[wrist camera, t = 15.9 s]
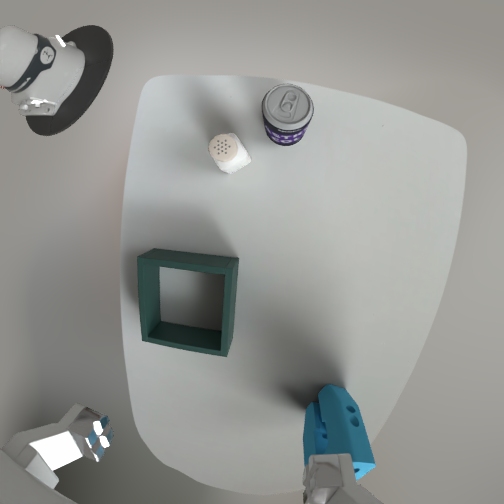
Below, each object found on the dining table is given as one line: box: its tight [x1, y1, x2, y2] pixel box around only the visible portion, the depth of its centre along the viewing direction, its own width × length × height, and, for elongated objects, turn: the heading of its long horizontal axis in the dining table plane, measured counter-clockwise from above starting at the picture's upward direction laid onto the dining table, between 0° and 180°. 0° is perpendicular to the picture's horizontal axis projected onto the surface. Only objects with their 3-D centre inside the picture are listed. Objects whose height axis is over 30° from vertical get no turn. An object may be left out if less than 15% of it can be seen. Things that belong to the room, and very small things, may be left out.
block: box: [303, 384, 376, 481], centre depth 37 cm, size 12×5×20 cm, turn 155°
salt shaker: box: [209, 133, 251, 173], centre depth 34 cm, size 4×4×10 cm
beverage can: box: [262, 84, 314, 146], centre depth 31 cm, size 6×6×12 cm
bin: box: [137, 248, 239, 357], centre depth 41 cm, size 14×14×6 cm
